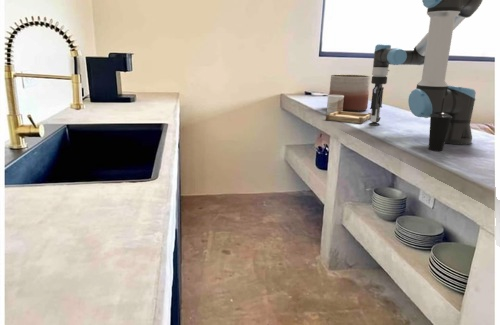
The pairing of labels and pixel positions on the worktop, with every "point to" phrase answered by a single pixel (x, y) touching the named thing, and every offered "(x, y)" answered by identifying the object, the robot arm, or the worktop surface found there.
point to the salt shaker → (376, 117)
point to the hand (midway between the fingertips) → (374, 120)
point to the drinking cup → (438, 129)
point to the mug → (335, 103)
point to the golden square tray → (348, 117)
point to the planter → (351, 91)
